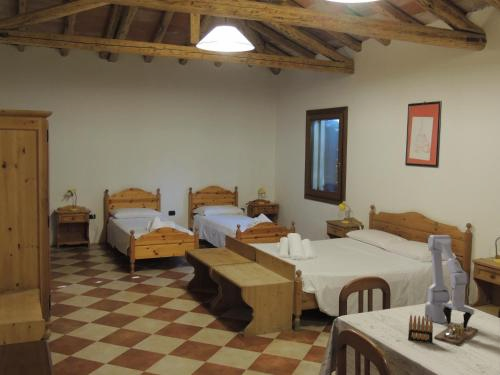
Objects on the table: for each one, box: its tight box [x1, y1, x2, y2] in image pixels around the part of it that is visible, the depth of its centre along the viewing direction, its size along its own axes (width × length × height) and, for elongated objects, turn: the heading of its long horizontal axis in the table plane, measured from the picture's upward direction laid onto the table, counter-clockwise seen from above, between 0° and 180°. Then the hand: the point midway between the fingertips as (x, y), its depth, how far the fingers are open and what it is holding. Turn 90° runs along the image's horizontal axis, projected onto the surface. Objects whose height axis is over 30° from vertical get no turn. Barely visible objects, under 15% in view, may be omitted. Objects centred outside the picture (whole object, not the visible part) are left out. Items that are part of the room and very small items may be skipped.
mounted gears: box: [444, 321, 470, 339], centre depth 239 cm, size 6×20×3 cm, turn 136°
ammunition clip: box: [407, 314, 434, 344], centre depth 232 cm, size 11×2×12 cm, turn 71°
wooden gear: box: [449, 323, 464, 335], centre depth 239 cm, size 6×6×3 cm
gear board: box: [433, 322, 479, 346], centre depth 240 cm, size 11×24×1 cm, turn 136°
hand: (456, 325), depth 239 cm, fingers open, 7 cm apart
